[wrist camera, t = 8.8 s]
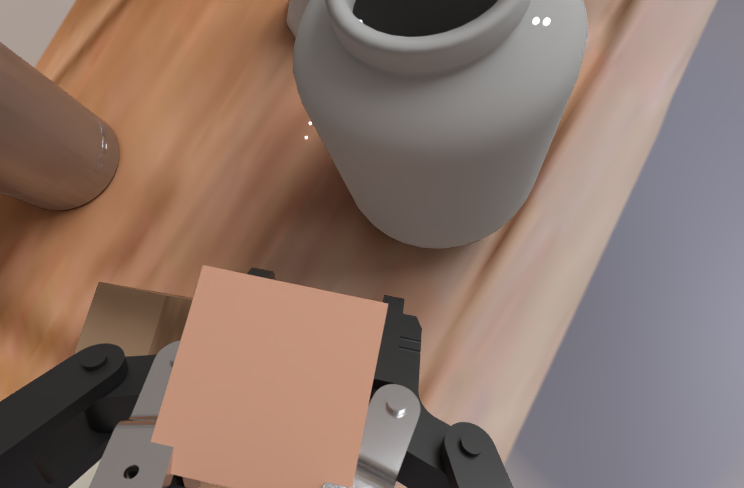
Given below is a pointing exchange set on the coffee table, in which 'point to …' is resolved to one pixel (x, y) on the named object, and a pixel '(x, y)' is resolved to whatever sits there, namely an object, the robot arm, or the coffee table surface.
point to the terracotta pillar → (270, 383)
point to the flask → (295, 14)
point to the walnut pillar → (134, 319)
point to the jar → (438, 105)
